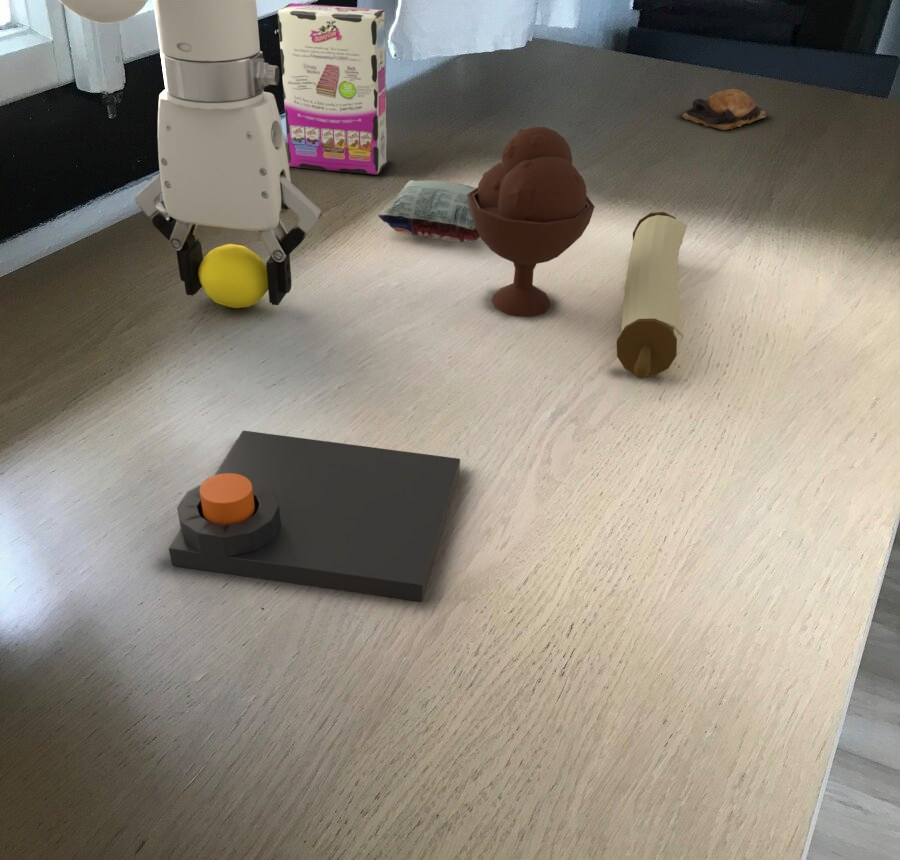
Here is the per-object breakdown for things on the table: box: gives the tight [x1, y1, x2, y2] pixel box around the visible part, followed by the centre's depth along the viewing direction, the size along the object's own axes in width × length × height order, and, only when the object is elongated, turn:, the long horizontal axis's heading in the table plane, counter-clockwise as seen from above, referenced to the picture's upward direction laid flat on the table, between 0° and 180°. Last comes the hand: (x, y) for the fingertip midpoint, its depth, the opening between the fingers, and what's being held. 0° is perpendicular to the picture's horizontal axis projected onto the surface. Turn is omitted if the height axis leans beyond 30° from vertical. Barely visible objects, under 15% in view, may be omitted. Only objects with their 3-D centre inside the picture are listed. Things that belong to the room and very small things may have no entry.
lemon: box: [198, 243, 269, 309], centre depth 87 cm, size 7×5×5 cm
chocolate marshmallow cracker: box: [681, 88, 766, 131], centre depth 138 cm, size 11×8×4 cm
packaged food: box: [377, 179, 481, 243], centre depth 102 cm, size 9×12×5 cm
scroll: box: [616, 211, 689, 379], centre depth 89 cm, size 32×6×5 cm, turn 168°
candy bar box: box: [277, 2, 388, 176], centre depth 112 cm, size 11×5×16 cm, turn 80°
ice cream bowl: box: [467, 126, 596, 317], centre depth 87 cm, size 11×11×15 cm
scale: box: [168, 430, 461, 602], centre depth 65 cm, size 16×14×3 cm
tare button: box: [200, 473, 255, 525], centre depth 61 cm, size 3×3×2 cm
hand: (237, 292), depth 88 cm, fingers closed on lemon, 7 cm apart
